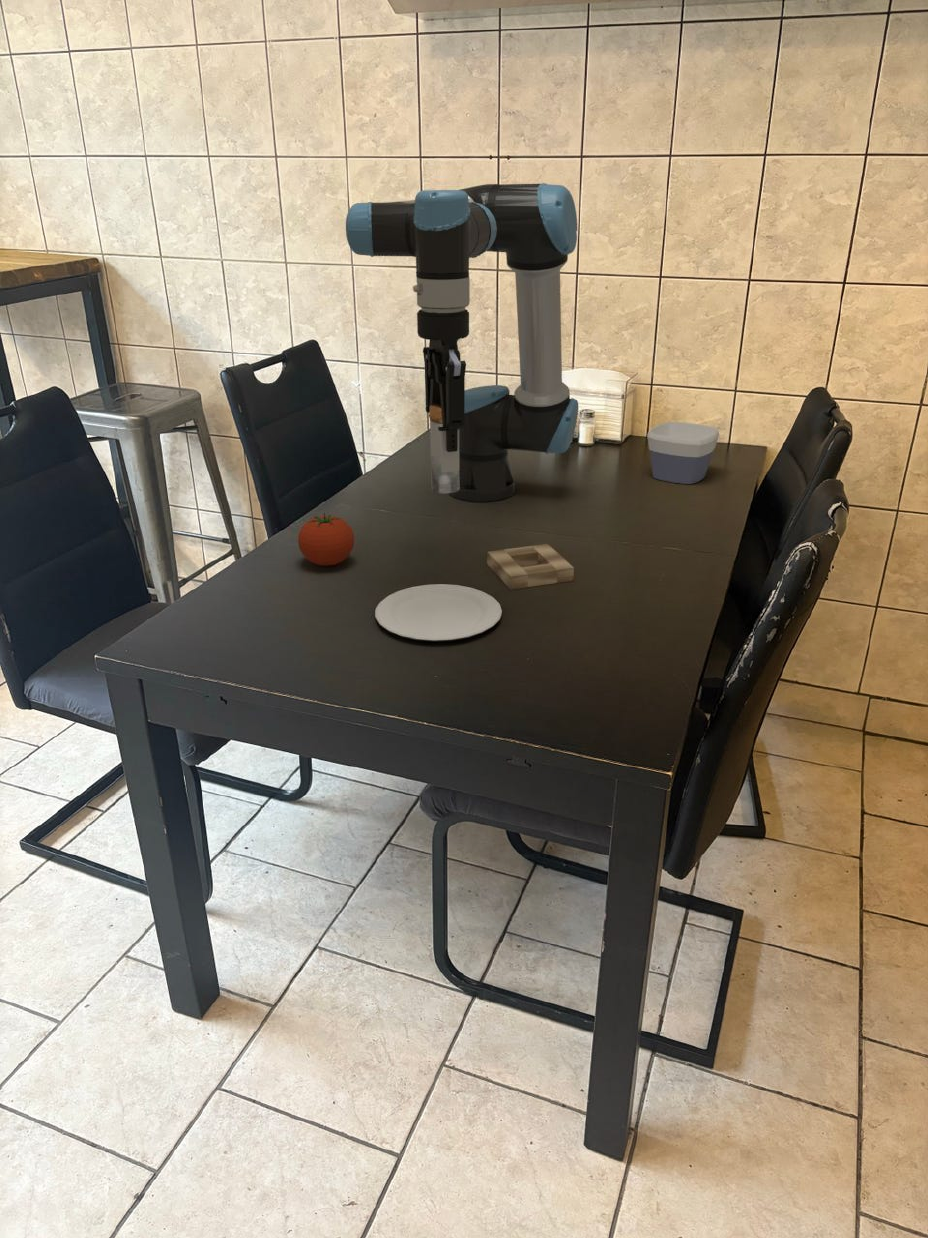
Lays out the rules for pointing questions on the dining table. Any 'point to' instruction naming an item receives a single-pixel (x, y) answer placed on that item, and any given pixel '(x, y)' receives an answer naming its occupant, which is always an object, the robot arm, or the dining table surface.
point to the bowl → (681, 451)
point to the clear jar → (439, 480)
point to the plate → (438, 612)
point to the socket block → (543, 572)
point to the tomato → (326, 540)
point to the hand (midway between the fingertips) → (445, 465)
